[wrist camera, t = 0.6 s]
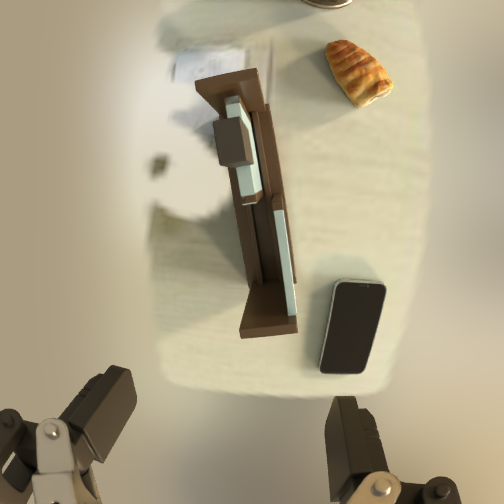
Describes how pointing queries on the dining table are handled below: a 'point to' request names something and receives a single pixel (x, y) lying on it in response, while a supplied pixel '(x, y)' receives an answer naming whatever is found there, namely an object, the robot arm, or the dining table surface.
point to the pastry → (357, 73)
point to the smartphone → (351, 326)
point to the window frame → (260, 214)
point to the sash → (239, 149)
